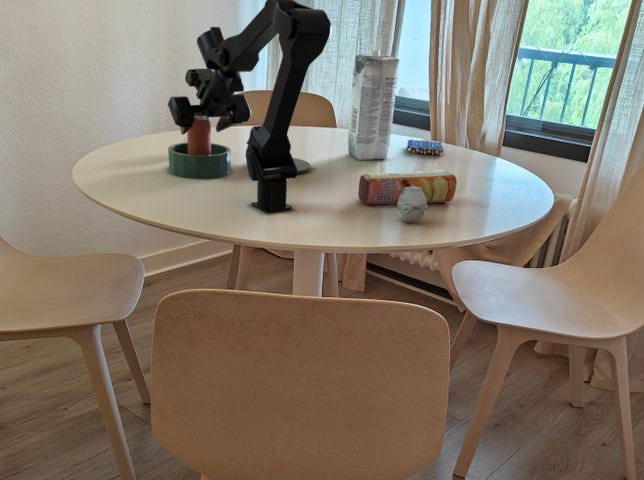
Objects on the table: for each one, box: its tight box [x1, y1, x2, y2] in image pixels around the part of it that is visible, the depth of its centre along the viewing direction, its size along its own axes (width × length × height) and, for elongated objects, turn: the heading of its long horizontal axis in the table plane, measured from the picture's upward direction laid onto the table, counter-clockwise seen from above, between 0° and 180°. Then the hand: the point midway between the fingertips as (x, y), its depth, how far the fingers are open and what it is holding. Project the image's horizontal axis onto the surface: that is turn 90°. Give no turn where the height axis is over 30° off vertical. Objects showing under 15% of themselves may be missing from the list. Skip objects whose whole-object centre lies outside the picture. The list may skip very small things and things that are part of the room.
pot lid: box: [263, 157, 311, 174], centre depth 163 cm, size 16×16×6 cm
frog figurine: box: [396, 186, 428, 224], centre depth 130 cm, size 6×7×7 cm
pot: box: [167, 142, 232, 180], centre depth 157 cm, size 15×15×5 cm
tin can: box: [186, 116, 212, 155], centre depth 155 cm, size 6×6×12 cm
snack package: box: [357, 169, 457, 206], centre depth 142 cm, size 21×7×7 cm, turn 105°
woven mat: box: [406, 139, 444, 156], centre depth 191 cm, size 10×11×2 cm
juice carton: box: [347, 50, 400, 161], centre depth 174 cm, size 9×10×27 cm
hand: (199, 131), depth 153 cm, fingers open, 9 cm apart
